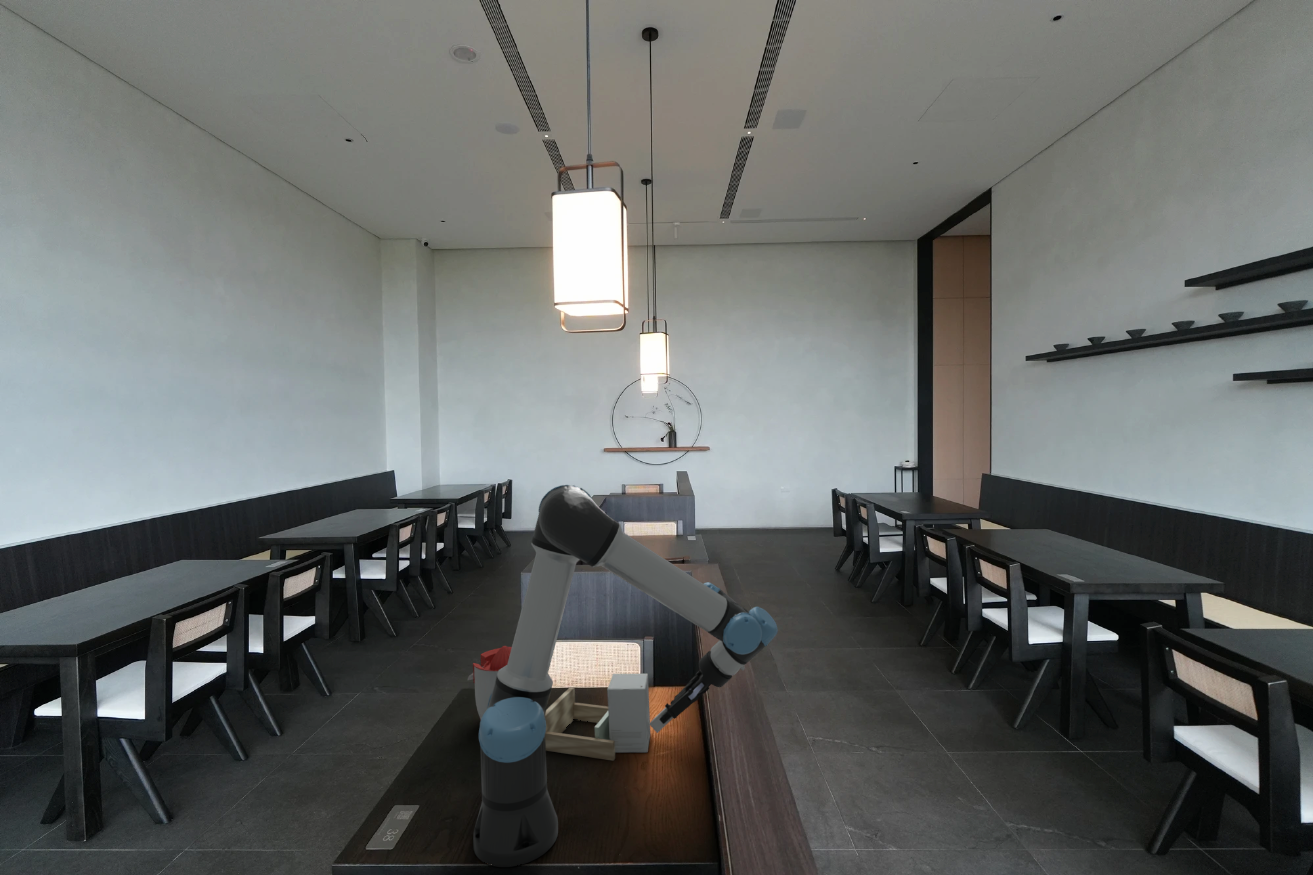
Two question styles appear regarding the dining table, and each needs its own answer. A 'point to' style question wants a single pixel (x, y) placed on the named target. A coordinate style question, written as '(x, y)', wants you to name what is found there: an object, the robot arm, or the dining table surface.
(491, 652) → the citrus juicer
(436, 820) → the dining table surface
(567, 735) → the pusher lane
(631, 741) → the supplement box
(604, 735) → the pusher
